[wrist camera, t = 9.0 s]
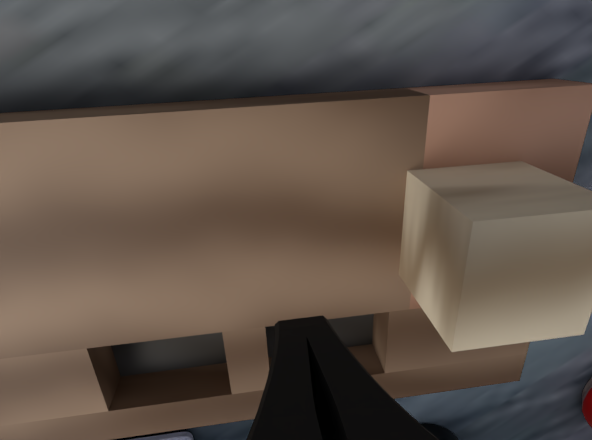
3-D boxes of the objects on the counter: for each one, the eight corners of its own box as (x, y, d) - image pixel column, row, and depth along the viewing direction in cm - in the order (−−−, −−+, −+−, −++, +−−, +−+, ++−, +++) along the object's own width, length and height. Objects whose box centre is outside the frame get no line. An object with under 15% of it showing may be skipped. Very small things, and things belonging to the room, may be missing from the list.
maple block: (500, 263, 19) (583, 334, 14) (398, 274, 18) (451, 352, 14) (521, 160, 17) (627, 206, 12) (407, 170, 16) (473, 221, 12)
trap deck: (493, 349, 25) (519, 380, 22) (18, 413, 22) (-8, 456, 19) (553, 78, 18) (599, 84, 16) (-125, 120, 15) (-190, 135, 13)
